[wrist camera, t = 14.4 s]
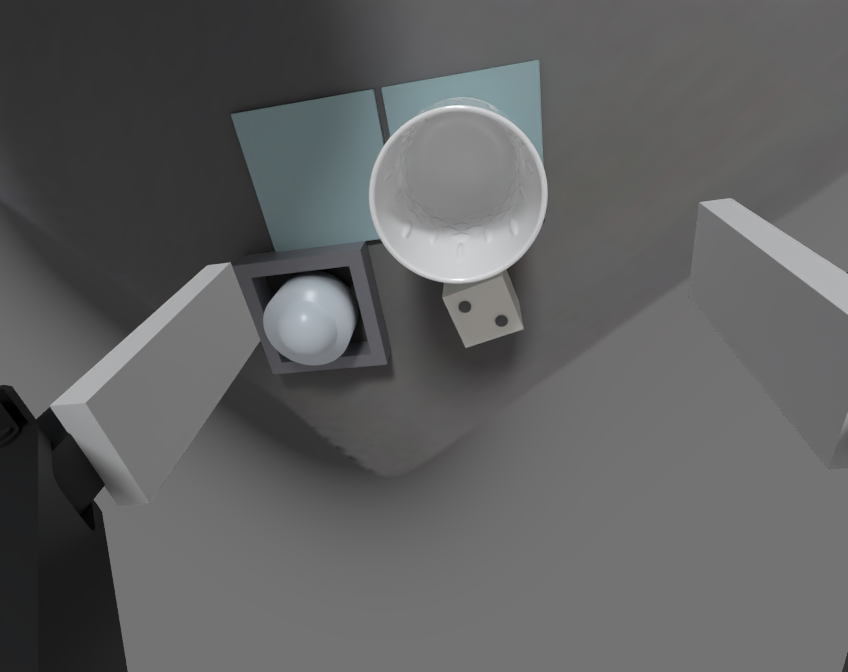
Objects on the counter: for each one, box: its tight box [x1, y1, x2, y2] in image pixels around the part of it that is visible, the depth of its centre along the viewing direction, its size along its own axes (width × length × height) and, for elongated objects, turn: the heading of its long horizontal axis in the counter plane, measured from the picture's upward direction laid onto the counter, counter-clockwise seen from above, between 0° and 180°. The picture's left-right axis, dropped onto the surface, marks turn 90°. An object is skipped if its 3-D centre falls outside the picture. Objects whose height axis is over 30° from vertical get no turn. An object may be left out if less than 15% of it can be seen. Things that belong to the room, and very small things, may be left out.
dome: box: [263, 270, 359, 365], centre depth 35 cm, size 6×6×5 cm
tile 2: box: [381, 60, 545, 218], centre depth 31 cm, size 9×9×1 cm
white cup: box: [369, 97, 548, 284], centre depth 26 cm, size 8×8×10 cm
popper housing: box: [233, 241, 391, 375], centre depth 36 cm, size 9×9×2 cm
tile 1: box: [231, 89, 384, 252], centre depth 32 cm, size 9×9×1 cm
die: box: [442, 269, 524, 348], centre depth 34 cm, size 4×4×4 cm
